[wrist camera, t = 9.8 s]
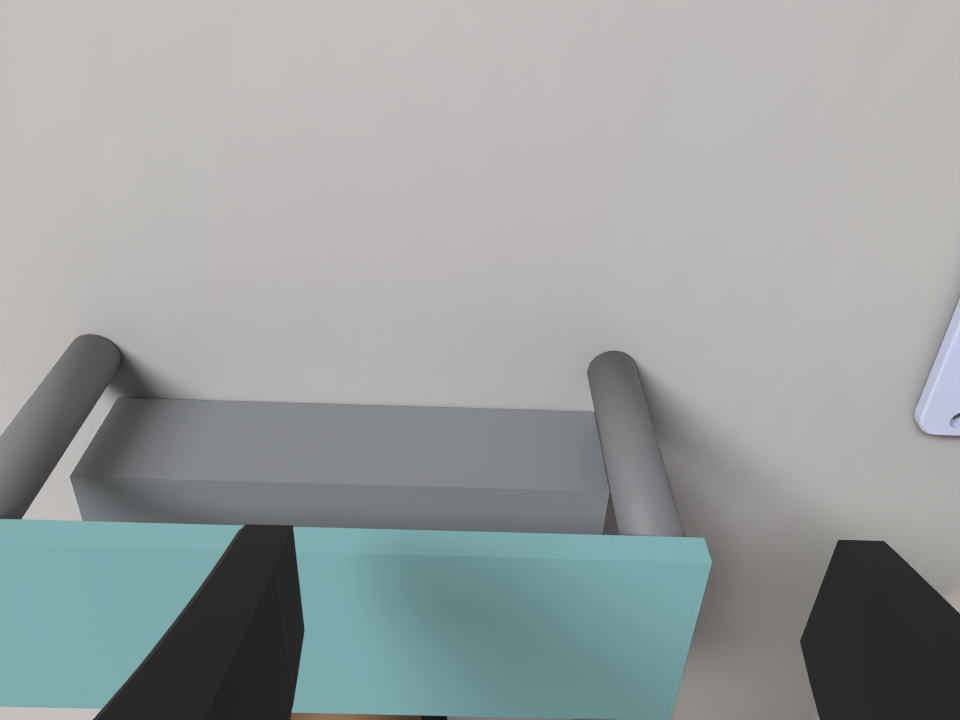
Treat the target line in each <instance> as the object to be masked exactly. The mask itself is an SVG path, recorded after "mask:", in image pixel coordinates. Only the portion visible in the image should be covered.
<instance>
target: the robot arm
mask: <svg viewBox="0 0 960 720" xmlns="http://www.w3.org/2000/svg"><path fill="white" fill-rule="evenodd" d="M958 413H960V299H959V302H958V304H957V307H956V309H955V312H954V314H953V317H952V319H951V322H950V324H949V327H948V330H947V332H946V335H945V337H944V340H943V342H942V345H941V347H940V350H939V352H938V355H937V357H936V360H935V362H934V365H933V367H932V370H931V372H930V375H929V377H928V380H927V382H926V385H925V387H924V390H923V392H922V395H921V397H920V400H919V402H918V405H917V407H916V410H915V415H914V418H915V421H916V423H917V424H918V426H919V427H920V429H921V430H922V431H924V432H925V433H926V434H931V435H952V436H960V416H959V417H958V418H956V419H952V418H953V416H955V415H957V414H958ZM951 419H952V420H951ZM304 631H305V628H304V620H303V611H302V602H301V593H300V584H299V575H298V566H297V557H296V548H295V540H294V531H293V525H256V524H246V525H245V526H243V527H242V528H241V529H240V530H238V532H237V534H236V535H235V537H234V538H233V540H232V541H231V543H230V544H229V546H228V547H227V549H226V550H225V552H224V553H223V555H222V556H221V558H220V559H219V561H218V562H217V563H216V565H215V566H214V568H213V569H212V571H211V572H210V573H209V575H208V576H207V578H206V579H205V581H204V582H203V583H202V585H201V586H200V587H199V589H198V590H197V592H196V593H195V594H194V596H193V597H192V598H191V600H190V601H189V602H188V604H187V605H186V607H185V608H184V609H183V611H182V612H181V613H180V614H179V616H178V617H177V618H176V620H175V621H174V622H173V623H172V625H171V626H170V627H169V629H168V630H167V631H166V632H165V634H164V635H163V636H162V638H161V639H160V640H159V641H158V643H157V644H156V645H155V647H154V648H153V649H152V650H151V652H150V653H149V654H148V656H147V657H146V658H145V659H144V660H143V662H142V663H141V664H140V665H139V667H138V668H137V669H136V670H135V671H134V673H133V674H132V675H131V676H130V677H129V678H128V680H127V681H126V682H125V683H124V684H123V685H122V687H121V688H120V689H119V690H118V691H117V692H116V693H115V695H114V696H113V697H112V698H111V699H110V700H109V702H108V703H107V704H106V705H105V706H104V707H103V709H102V710H101V711H100V712H99V713H98V714H97V716H96V717H95V718H94V719H93V720H290V716H291V712H292V708H293V703H294V697H295V691H296V684H297V678H298V672H299V665H300V658H301V652H302V645H303V638H304ZM800 643H801V647H802V651H803V656H804V660H805V664H806V668H807V672H808V676H809V681H810V685H811V688H812V692H813V696H814V699H815V703H816V707H817V710H818V714H819V718H820V720H960V614H959V613H958V612H957V611H956V610H955V609H954V608H953V607H952V606H951V605H950V604H949V603H948V602H947V601H946V600H945V599H944V598H943V597H942V596H941V595H940V594H939V593H938V592H937V591H936V590H935V589H934V588H933V587H932V586H931V585H930V584H929V583H927V582H926V581H925V580H924V579H923V578H922V577H921V576H920V575H919V574H918V573H917V572H916V571H915V570H914V569H913V568H912V567H911V566H910V565H909V564H908V563H907V562H906V561H905V560H904V559H903V558H902V557H900V556H899V555H898V554H897V553H896V552H895V551H894V550H893V549H892V548H891V547H890V546H889V545H888V544H886V543H885V542H884V541H861V540H838V542H837V545H836V547H835V550H834V553H833V555H832V558H831V561H830V563H829V566H828V569H827V571H826V574H825V577H824V579H823V582H822V585H821V587H820V590H819V593H818V595H817V598H816V601H815V603H814V606H813V609H812V611H811V614H810V617H809V619H808V622H807V625H806V627H805V630H804V633H803V635H802V638H801V641H800Z"/></svg>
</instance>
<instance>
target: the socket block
mask: <svg viewBox="0 0 960 720" xmlns="http://www.w3.org/2000/svg"><path fill="white" fill-rule="evenodd" d="M70 479H71V482H72V486H73V489H74V492H75V496H76V499H77V503H78V506H79V509H80V513H81V516H82V519H83V521H95V522H133V523H171V524H209V525H246V524H256V525H293V527H322V528H360V529H398V530H436V531H473V532H511V533H549V534H587V535H603V529H604V523H605V517H606V511H607V504H608V498H609V492H610V491H609V486H608V481H607V476H606V470H605V465H604V460H603V455H602V450H601V445H600V440H599V434H598V429H597V424H596V419H595V414H594V412H582V411H548V410H515V409H481V408H448V407H414V406H381V405H347V404H314V403H280V402H247V401H213V400H180V399H146V398H118V399H117V401H116V402H115V404H114V405H113V407H112V409H111V410H110V412H109V414H108V415H107V417H106V418H105V420H104V422H103V423H102V425H101V427H100V428H99V430H98V431H97V433H96V435H95V436H94V438H93V440H92V441H91V443H90V445H89V446H88V448H87V449H86V451H85V453H84V454H83V456H82V458H81V459H80V461H79V462H78V464H77V466H76V467H75V469H74V471H73V472H72V474H71V475H70ZM291 714H292V713H291ZM290 719H291V716H290ZM421 720H572V719H565V718H518V717H471V716H424V715H421Z"/></svg>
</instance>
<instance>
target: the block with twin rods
mask: <svg viewBox="0 0 960 720" xmlns="http://www.w3.org/2000/svg"><path fill="white" fill-rule="evenodd" d="M120 364H121V356H120V353H119V351H118V349H117V348H116V346H115V345H114V344H113V343H112V342H110V341H109V340H107V339H106V338H104V337H101V336H98V335H92V334H87V335H82V336H79V337H78V338H76V339H75V340H74V341H73V342H72V344H71V345H70V346H69V347H68V349H67V350H66V351H65V353H64V354H63V355H62V357H61V358H60V359H59V361H58V362H57V363H56V364H55V366H54V367H53V368H52V370H51V371H50V372H49V374H48V375H47V376H46V378H45V379H44V380H43V381H42V383H41V384H40V385H39V387H38V388H37V389H36V391H35V392H34V393H33V395H32V396H31V397H30V398H29V400H28V401H27V402H26V404H25V405H24V406H23V408H22V409H21V410H20V412H19V413H18V414H17V415H16V417H15V418H14V419H13V421H12V422H11V423H10V425H9V426H8V427H7V429H6V430H5V431H4V433H3V434H2V435H1V436H0V706H2V707H49V708H96V709H103V707H104V706H105V705H106V704H107V703H108V702H109V700H110V699H111V698H112V697H113V696H114V695H115V693H116V692H117V691H118V690H119V689H120V688H121V687H122V685H123V684H124V683H125V682H126V681H127V680H128V678H129V677H130V676H131V675H132V674H133V673H134V671H135V670H136V669H137V668H138V667H139V665H140V664H141V663H142V662H143V660H144V659H145V658H146V657H147V656H148V654H149V653H150V652H151V650H152V649H153V648H154V647H155V645H156V644H157V643H158V641H159V640H160V639H161V638H162V636H163V635H164V634H165V632H166V631H167V630H168V629H169V627H170V626H171V625H172V623H173V622H174V621H175V620H176V618H177V617H178V616H179V614H180V613H181V612H182V611H183V609H184V608H185V607H186V605H187V604H188V602H189V601H190V600H191V598H192V597H193V596H194V594H195V593H196V592H197V590H198V589H199V587H200V586H201V585H202V583H203V582H204V581H205V579H206V578H207V576H208V575H209V573H210V572H211V571H212V569H213V568H214V566H215V565H216V563H217V562H218V561H219V559H220V558H221V556H222V555H223V553H224V552H225V550H226V549H227V547H228V546H229V544H230V543H231V541H232V540H233V538H234V537H235V535H236V534H237V532H238V530H240V529H241V528H242V527H243V526H245V525H209V524H171V523H133V522H95V521H57V520H21V519H22V517H23V516H24V514H25V513H26V511H27V510H28V508H29V506H30V505H31V503H32V502H33V500H34V499H35V497H36V496H37V494H38V492H39V491H40V489H41V488H42V486H43V485H44V483H45V482H46V480H47V479H48V477H49V475H50V474H51V472H52V471H53V469H54V468H55V466H56V465H57V463H58V461H59V460H60V458H61V457H62V455H63V454H64V452H65V451H66V449H67V448H68V446H69V444H70V443H71V441H72V440H73V438H74V437H75V435H76V434H77V432H78V430H79V429H80V427H81V426H82V424H83V423H84V421H85V420H86V418H87V417H88V415H89V413H90V412H91V410H92V409H93V407H94V406H95V404H96V403H97V401H98V400H99V398H100V396H101V395H102V393H103V392H104V390H105V389H106V387H107V386H108V384H109V382H110V381H111V379H112V378H113V376H114V375H115V373H116V372H117V370H118V368H119V367H120ZM588 379H589V384H590V390H591V395H592V400H593V405H594V410H595V415H596V420H597V425H598V430H599V436H600V441H601V446H602V451H603V456H604V461H605V466H606V471H607V476H608V482H609V487H610V492H611V497H612V502H613V507H614V512H615V517H616V522H617V528H618V533H619V535H587V534H549V533H511V532H473V531H436V530H398V529H360V528H322V527H293V531H294V540H295V548H296V557H297V566H298V575H299V584H300V593H301V602H302V611H303V620H304V628H305V631H304V638H303V645H302V652H301V658H300V665H299V672H298V678H297V684H296V691H295V697H294V703H293V708H292V712H291V713H330V714H377V715H424V716H471V717H518V718H565V719H611V720H670V719H671V715H672V711H673V708H674V704H675V700H676V696H677V693H678V689H679V685H680V681H681V678H682V674H683V670H684V666H685V663H686V659H687V655H688V651H689V648H690V644H691V640H692V636H693V633H694V629H695V625H696V621H697V618H698V614H699V610H700V606H701V603H702V599H703V595H704V591H705V588H706V584H707V580H708V577H709V573H710V569H711V565H712V561H711V557H710V554H709V551H708V548H707V545H706V541H705V538H701V537H685V535H684V532H683V528H682V525H681V521H680V518H679V514H678V511H677V507H676V504H675V500H674V497H673V493H672V490H671V486H670V483H669V479H668V476H667V472H666V469H665V465H664V462H663V458H662V455H661V451H660V448H659V444H658V441H657V437H656V434H655V430H654V427H653V423H652V420H651V416H650V413H649V409H648V406H647V402H646V399H645V395H644V392H643V388H642V385H641V381H640V378H639V374H638V371H637V367H636V364H635V362H634V360H633V359H632V358H631V357H630V356H629V355H627V354H626V353H623V352H620V351H608V352H605V353H602V354H600V355H598V356H597V357H595V358H594V359H593V360H592V362H591V363H590V365H589V367H588Z"/></svg>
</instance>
